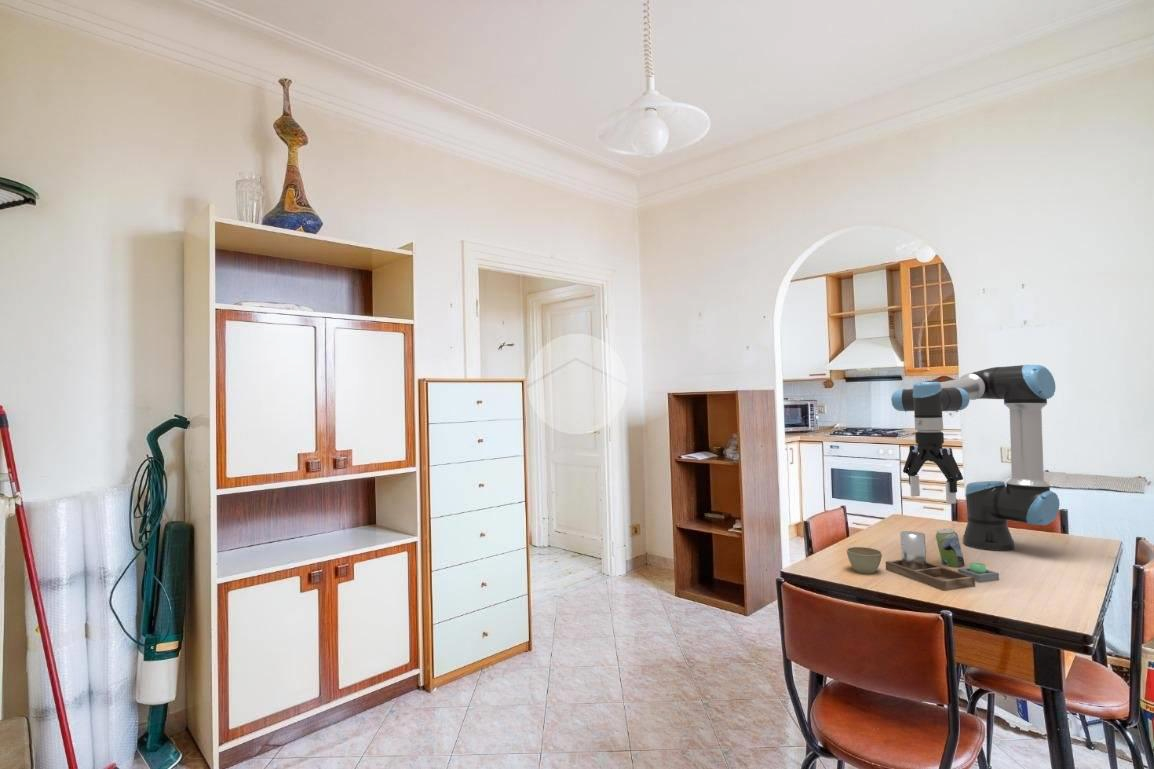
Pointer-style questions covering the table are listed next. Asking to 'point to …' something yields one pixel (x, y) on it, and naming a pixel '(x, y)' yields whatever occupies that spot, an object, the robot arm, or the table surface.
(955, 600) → the table surface
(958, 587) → the brown compartment tray
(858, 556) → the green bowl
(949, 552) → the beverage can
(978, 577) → the gray soap dish
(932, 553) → the table surface
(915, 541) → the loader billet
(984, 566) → the button
